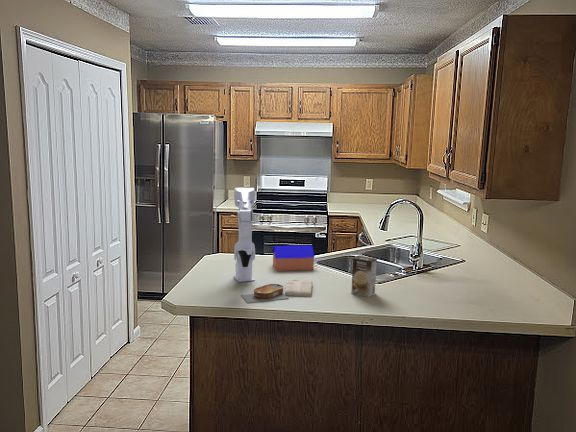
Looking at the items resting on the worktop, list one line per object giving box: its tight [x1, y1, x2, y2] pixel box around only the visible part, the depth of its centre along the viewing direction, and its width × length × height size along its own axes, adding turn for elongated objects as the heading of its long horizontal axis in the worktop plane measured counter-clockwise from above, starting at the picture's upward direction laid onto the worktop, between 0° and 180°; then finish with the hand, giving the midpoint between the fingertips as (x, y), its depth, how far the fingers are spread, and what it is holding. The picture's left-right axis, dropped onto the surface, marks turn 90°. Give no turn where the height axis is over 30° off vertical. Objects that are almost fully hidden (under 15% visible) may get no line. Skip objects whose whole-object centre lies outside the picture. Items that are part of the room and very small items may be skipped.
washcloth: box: [284, 279, 313, 297], centre depth 229 cm, size 12×18×3 cm, turn 177°
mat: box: [240, 292, 289, 304], centre depth 218 cm, size 10×18×1 cm, turn 111°
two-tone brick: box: [272, 244, 316, 272], centre depth 266 cm, size 12×20×12 cm, turn 100°
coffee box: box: [350, 254, 378, 298], centre depth 225 cm, size 9×6×16 cm
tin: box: [253, 283, 284, 299], centre depth 221 cm, size 15×3×8 cm
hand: (245, 266), depth 227 cm, fingers closed
